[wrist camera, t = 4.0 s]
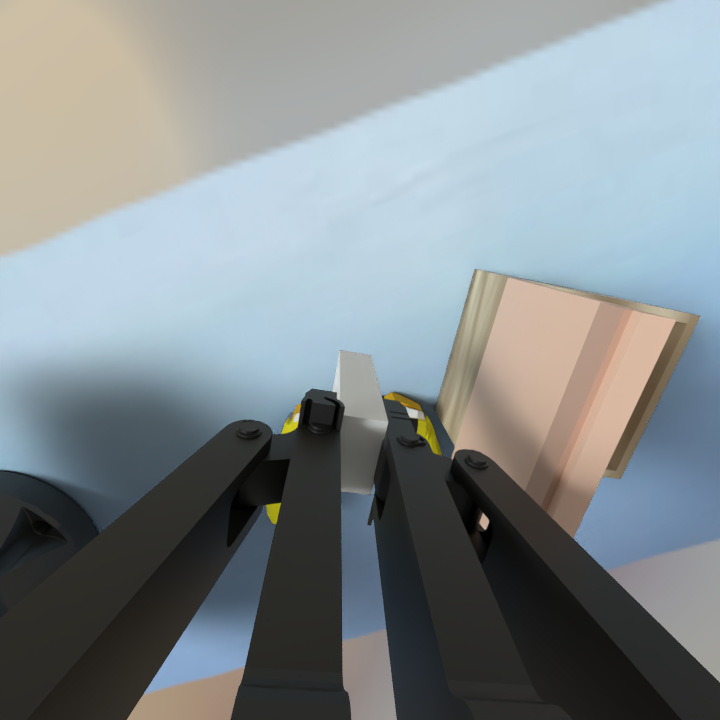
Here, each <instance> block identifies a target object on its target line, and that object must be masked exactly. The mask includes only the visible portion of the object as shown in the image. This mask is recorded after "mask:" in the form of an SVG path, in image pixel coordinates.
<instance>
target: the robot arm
mask: <svg viewBox="0 0 720 720" xmlns="http://www.w3.org/2000/svg"><path fill="white" fill-rule="evenodd" d="M373 484H375V494H374V499H373V503H372V507H371V511H370V515H369V519H368V525H371V523H372V520H373V519H374V526H375V534H376V543H377V551H378V560H379V569H380V577H381V586H382V595H383V603H384V612H385V621H386V629H387V637H388V646H389V655H390V664H391V672H392V681H393V690H394V698H395V707H396V716H397V720H720V683H719V681H718V680H716V678H714V676H712V675H711V674H710V673H709V672H708V671H707V670H706V669H705V668H704V667H703V666H702V665H701V664H700V663H699V662H698V661H697V660H696V659H695V658H694V657H693V656H692V655H691V654H690V653H689V652H688V651H687V650H686V649H685V648H684V647H683V646H682V645H681V644H680V643H679V642H678V641H677V640H676V639H675V638H674V637H673V636H672V635H671V634H670V633H669V632H667V630H665V628H664V627H662V626H661V624H659V623H658V622H657V621H656V620H655V619H654V618H653V617H652V616H651V615H650V614H649V613H648V612H647V611H646V610H645V609H644V608H643V607H642V606H641V605H640V604H639V603H638V602H637V601H636V600H635V599H634V598H633V597H632V596H631V595H630V594H629V593H628V592H627V591H626V590H625V589H624V588H623V587H622V586H621V585H620V584H619V583H618V582H617V581H616V580H615V579H613V577H612V576H610V574H609V573H607V571H605V570H604V569H603V568H602V567H601V566H600V565H599V564H598V563H597V562H596V561H595V560H594V559H593V558H592V557H591V556H590V555H589V554H588V553H587V552H586V551H585V550H584V549H583V548H582V547H581V546H580V545H579V544H578V543H577V542H576V541H575V540H574V539H573V538H572V537H571V536H570V535H569V534H568V533H567V532H566V531H565V530H564V529H563V528H562V527H561V526H560V525H559V524H558V523H557V522H556V521H555V520H554V519H552V518H551V517H550V516H549V515H548V514H547V513H546V512H545V511H544V510H543V509H542V508H541V507H540V506H539V505H538V504H537V503H536V502H535V501H534V500H533V499H532V498H531V497H530V496H529V495H528V494H527V493H526V492H525V491H524V490H523V489H522V488H521V487H520V486H519V485H518V484H517V483H516V482H515V481H514V480H513V479H512V478H511V477H510V476H509V475H508V474H507V473H506V472H505V471H504V470H503V469H502V468H501V467H499V466H498V465H497V464H496V463H495V462H494V461H493V460H492V459H491V458H489V457H488V456H486V455H484V454H482V453H481V452H479V451H476V450H469V449H461V450H458V451H456V452H455V455H454V458H453V459H450V458H447V457H443V456H440V455H438V454H435V453H433V451H432V449H431V447H430V444H429V442H428V441H427V440H426V439H425V438H424V437H423V436H421V435H419V434H417V433H415V430H414V427H413V425H412V422H411V420H410V417H409V415H408V412H407V409H406V407H405V406H404V405H403V404H401V403H400V402H399V401H396V400H389V399H383V398H382V396H381V392H380V388H379V384H378V380H377V377H376V373H375V369H374V365H373V361H372V357H371V355H366V354H360V353H354V352H348V351H342V350H340V352H339V358H338V364H337V369H336V375H335V380H334V386H333V391H332V392H331V391H324V390H317V389H311V390H310V391H308V392H307V393H306V395H305V397H304V398H303V400H302V401H301V408H300V414H299V421H298V427H297V428H296V429H295V430H293V431H291V432H288V433H285V434H274V435H272V430H271V428H270V427H269V426H268V425H267V424H264V423H262V422H259V421H254V420H240V421H236V422H233V423H231V424H229V425H227V426H226V427H225V428H224V429H223V430H221V431H220V432H219V433H218V434H217V435H216V436H214V437H213V438H212V439H211V440H210V441H208V442H207V443H206V444H205V445H204V446H203V447H201V448H200V449H199V450H198V451H197V452H196V453H194V454H193V455H192V456H191V457H190V458H188V459H187V460H186V461H185V462H184V463H183V464H181V465H180V466H179V467H178V468H177V469H175V470H174V471H173V472H172V473H171V474H170V475H168V476H167V477H166V478H165V479H164V480H163V481H161V482H160V483H159V484H158V485H157V486H155V487H154V488H153V489H152V490H151V491H150V492H148V493H147V494H146V495H145V496H144V497H143V498H141V499H140V500H139V501H138V502H137V503H135V504H134V505H133V506H132V507H131V508H130V509H128V510H127V511H126V512H125V513H124V514H122V515H121V516H120V517H119V518H118V519H117V520H115V521H114V522H113V523H112V524H111V525H110V526H108V527H107V528H106V529H105V530H104V531H102V532H101V533H100V534H99V535H98V534H97V531H96V529H95V527H94V525H93V523H92V522H91V520H90V519H89V517H88V516H87V515H86V514H85V512H84V511H83V510H82V509H81V508H80V507H79V506H78V505H77V504H76V503H75V502H74V501H72V500H71V499H70V498H69V497H67V496H66V495H65V494H63V493H62V492H60V491H59V490H57V489H55V488H53V487H52V486H50V485H48V484H46V483H43V482H41V481H39V480H36V479H33V478H30V477H27V476H24V475H20V474H15V473H10V472H4V471H0V720H127V718H128V717H129V715H130V714H131V712H132V710H133V709H134V707H135V706H136V704H137V702H138V701H139V700H140V698H141V697H142V695H143V694H144V692H145V691H146V689H147V687H148V686H149V684H150V683H151V681H152V680H153V678H154V677H155V675H156V674H157V672H158V671H159V669H160V667H161V666H162V664H163V663H164V661H165V660H166V658H167V657H168V655H169V654H170V652H171V651H172V649H173V647H174V646H175V644H176V643H177V641H178V640H179V638H180V637H181V635H182V634H183V632H184V631H185V629H186V627H187V626H188V624H189V623H190V621H191V620H192V618H193V617H194V615H195V614H196V612H197V611H198V609H199V607H200V606H201V604H202V603H203V601H204V600H205V598H206V597H207V595H208V594H209V592H210V591H211V589H212V587H213V586H214V584H215V583H216V581H217V580H218V578H219V577H220V575H221V574H222V572H223V571H224V569H225V567H226V566H227V564H228V563H229V561H230V560H231V558H232V557H233V555H234V554H235V552H236V551H237V549H238V547H239V546H240V544H241V543H242V541H243V540H244V538H245V537H246V535H247V534H248V532H249V531H250V529H251V527H252V526H253V524H254V523H255V521H256V520H257V518H258V517H259V515H260V514H261V511H262V508H263V505H269V504H276V503H281V505H280V509H279V514H278V518H277V523H276V528H275V532H274V537H273V541H272V546H271V551H270V555H269V560H268V564H267V569H266V573H265V578H264V583H263V587H262V592H261V596H260V601H259V606H258V610H257V615H256V619H255V624H254V629H253V633H252V638H251V642H250V647H249V651H248V656H247V661H246V665H245V670H244V674H243V679H242V682H241V684H240V686H239V688H238V692H237V696H236V699H235V704H234V708H233V713H232V717H231V720H351V711H350V710H351V709H350V701H349V696H348V692H346V691H345V690H344V687H343V677H342V565H341V491H342V492H350V493H358V494H366V495H371V492H372V488H373ZM483 513H484V514H485V516H486V517H487V518H488V520H489V524H488V526H487V529H486V530H485V529H484V528H483V527H482V526H481V525H480V523H479V522H480V520H481V517H482V514H483Z"/></svg>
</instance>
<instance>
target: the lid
mask: <svg viewBox="0 0 720 720" xmlns="http://www.w3.org/2000/svg"><path fill="white" fill-rule="evenodd" d="M675 322H676V320H675V319H671V318H667V317H664V316H660V315H656V314H652V313H648V312H644V311H640V310H636V309H632V308H628V307H625V306H621V305H617V304H613V303H609V302H605V301H601V300H597V299H593V298H589V297H585V296H582V295H578V294H574V293H570V292H566V291H562V290H558V289H554V288H550V287H546V286H543V285H539V284H535V283H531V282H527V281H523V280H518V279H513V278H508V279H507V282H506V285H505V289H504V292H503V295H502V298H501V301H500V305H499V308H498V311H497V314H496V317H495V321H494V324H493V327H492V330H491V333H490V336H489V340H488V343H487V346H486V349H485V352H484V356H483V359H482V362H481V365H480V368H479V372H478V375H477V378H476V381H475V384H474V388H473V391H472V394H471V397H470V400H469V403H468V407H467V410H466V413H465V416H464V419H463V423H462V426H461V429H460V432H459V435H458V439H457V442H456V445H455V448H454V451H453V454H452V458H451V459H453V458H454V455H455V452H456V451H458V450H461V449H469V450H476V451H479V452H481V453H482V454H484V455H486V456H488V457H489V458H491V459H492V460H493V461H494V462H495V463H496V464H497V465H498V466H499V467H501V468H502V469H503V470H504V471H505V472H506V473H507V474H508V475H509V476H510V477H511V478H512V479H513V480H514V481H515V482H516V483H517V484H518V485H519V486H520V487H521V488H522V489H523V490H524V491H525V492H526V493H527V494H528V495H529V496H530V497H531V498H532V499H533V500H534V501H535V502H536V503H537V504H538V505H539V506H540V507H541V508H542V509H543V510H544V511H545V512H546V513H547V514H548V515H549V516H550V517H551V518H552V519H554V520H555V521H556V522H557V523H558V524H559V525H560V526H561V527H562V528H563V529H564V530H565V531H566V532H567V533H568V534H569V535H570V536H571V537H572V538H574V535H575V533H576V531H577V529H578V527H579V525H580V523H581V521H582V519H583V516H584V514H585V512H586V510H587V508H588V506H589V504H590V502H591V499H592V497H593V495H594V493H595V491H596V489H597V487H598V485H599V483H600V480H601V478H602V476H603V474H604V472H605V470H606V468H607V466H608V463H609V461H610V459H611V457H612V455H613V453H614V451H615V449H616V447H617V444H618V442H619V440H620V438H621V436H622V434H623V432H624V430H625V427H626V425H627V423H628V421H629V419H630V417H631V415H632V413H633V411H634V408H635V406H636V404H637V402H638V400H639V398H640V396H641V394H642V391H643V389H644V387H645V385H646V383H647V381H648V379H649V377H650V375H651V372H652V370H653V368H654V366H655V364H656V362H657V360H658V358H659V355H660V353H661V351H662V349H663V347H664V345H665V343H666V341H667V339H668V336H669V334H670V332H671V330H672V328H673V326H674V324H675ZM479 523H480V525H481V526H482V527H483V528H484V529H485V530H486V529H487V526H488V524H489V520H488V518H487V517H486V516H485V514H484V513H483V514H482V517H481V520H480V522H479Z"/></svg>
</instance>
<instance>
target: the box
mask: <svg viewBox="0 0 720 720" xmlns="http://www.w3.org/2000/svg"><path fill="white" fill-rule="evenodd" d="M508 278H513V279H518V280H523V281H527V282H531V283H535V284H539V285H543V286H546V287H550V288H554V289H558V290H562V291H566V292H570V293H574V294H578V295H582V296H585V297H589V298H593V299H597V300H601V301H605V302H609V303H613V304H617V305H621V306H625V307H628V308H632V309H636V310H640V311H644V312H648V313H652V314H656V315H660V316H664V317H667V318H671V319H675V320H676V322H675V324H674V326H673V328H672V330H671V332H670V334H669V336H668V339H667V341H666V343H665V345H664V347H663V349H662V351H661V353H660V355H659V358H658V360H657V362H656V364H655V366H654V368H653V370H652V372H651V375H650V377H649V379H648V381H647V383H646V385H645V387H644V389H643V391H642V394H641V396H640V398H639V400H638V402H637V404H636V406H635V408H634V411H633V413H632V415H631V417H630V419H629V421H628V423H627V425H626V427H625V430H624V432H623V434H622V436H621V438H620V440H619V442H618V444H617V447H616V449H615V451H614V453H613V455H612V457H611V459H610V461H609V463H608V466H607V468H606V470H605V472H604V474H603V476H602V477H609V478H616V479H621V477H622V475H623V473H624V471H625V469H626V466H627V464H628V462H629V460H630V458H631V456H632V454H633V452H634V450H635V448H636V446H637V444H638V442H639V440H640V438H641V436H642V434H643V432H644V430H645V428H646V426H647V424H648V422H649V420H650V418H651V416H652V414H653V412H654V410H655V408H656V405H657V403H658V401H659V399H660V397H661V395H662V393H663V391H664V389H665V387H666V385H667V383H668V381H669V379H670V377H671V375H672V373H673V371H674V369H675V367H676V365H677V363H678V361H679V359H680V357H681V355H682V353H683V351H684V349H685V347H686V344H687V342H688V340H689V338H690V336H691V334H692V332H693V330H694V328H695V326H696V324H697V322H698V320H699V318H700V316H699V315H694V314H689V313H685V312H680V311H676V310H671V309H667V308H662V307H657V306H653V305H648V304H644V303H639V302H635V301H630V300H625V299H621V298H616V297H611V296H606V295H601V294H596V293H591V292H586V291H581V290H576V289H572V288H567V287H562V286H557V285H552V284H547V283H542V282H537V281H532V280H527V279H522V278H517V277H512V276H507V275H502V274H497V273H492V272H487V271H482V270H477V269H475V270H474V274H473V277H472V281H471V284H470V288H469V291H468V295H467V298H466V302H465V305H464V309H463V312H462V316H461V319H460V323H459V326H458V330H457V333H456V337H455V341H454V344H453V348H452V351H451V355H450V358H449V362H448V365H447V369H446V372H445V376H444V379H443V383H442V386H441V390H440V393H439V397H438V400H437V404H436V408H435V411H436V413H437V415H438V417H439V419H440V420H441V422H442V424H443V426H444V428H445V429H446V431H447V433H448V435H449V437H450V438H451V440H452V442H453V444H454V446H455V445H456V442H457V439H458V435H459V432H460V429H461V426H462V423H463V419H464V416H465V413H466V410H467V407H468V403H469V400H470V397H471V394H472V391H473V388H474V384H475V381H476V378H477V375H478V372H479V368H480V365H481V362H482V359H483V356H484V352H485V349H486V346H487V343H488V340H489V336H490V333H491V330H492V327H493V324H494V321H495V317H496V314H497V311H498V308H499V305H500V301H501V298H502V295H503V292H504V289H505V285H506V282H507V279H508Z"/></svg>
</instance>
